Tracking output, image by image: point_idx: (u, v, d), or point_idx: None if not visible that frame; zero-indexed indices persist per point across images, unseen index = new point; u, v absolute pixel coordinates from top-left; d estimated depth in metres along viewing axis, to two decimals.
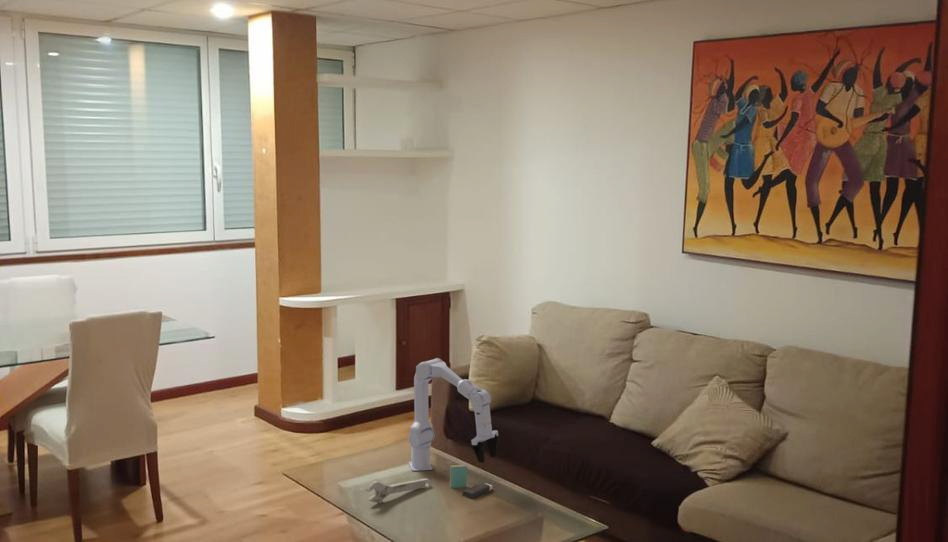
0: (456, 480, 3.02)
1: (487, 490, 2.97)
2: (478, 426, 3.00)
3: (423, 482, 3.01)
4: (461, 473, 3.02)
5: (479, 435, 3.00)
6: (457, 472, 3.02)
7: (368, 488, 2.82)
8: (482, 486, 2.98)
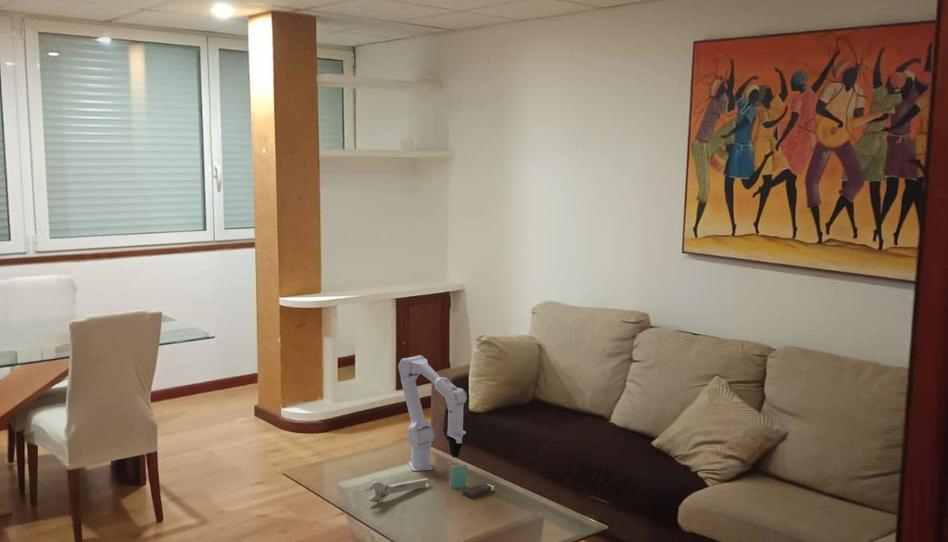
0: (456, 480, 3.02)
1: (488, 491, 2.97)
2: (456, 424, 3.04)
3: (423, 482, 3.01)
4: (461, 473, 3.02)
5: (455, 433, 3.05)
6: (457, 472, 3.02)
7: (368, 488, 2.82)
8: (483, 487, 2.98)
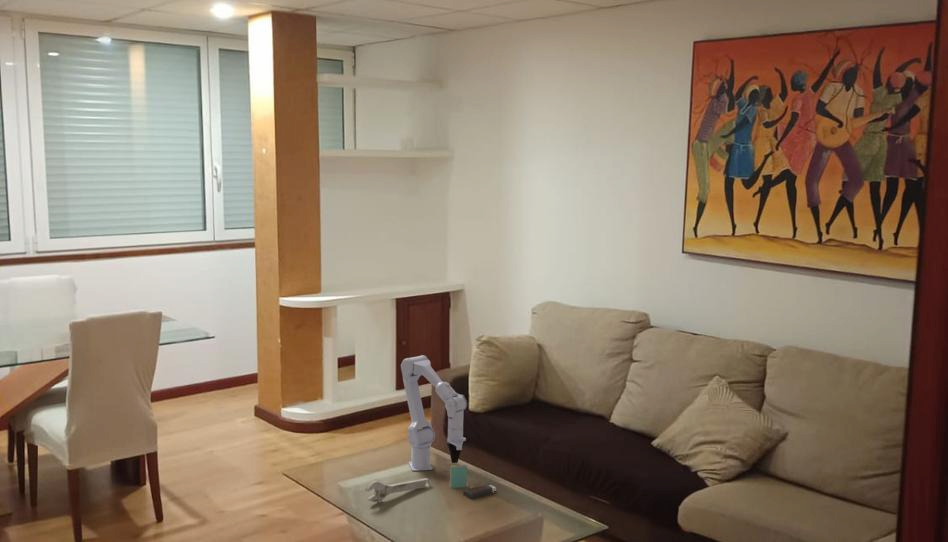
0: (456, 480, 3.02)
1: (489, 492, 2.96)
2: (456, 431, 3.04)
3: (423, 482, 3.01)
4: (461, 473, 3.02)
5: (455, 439, 3.05)
6: (457, 472, 3.02)
7: (367, 488, 2.82)
8: (484, 487, 2.97)
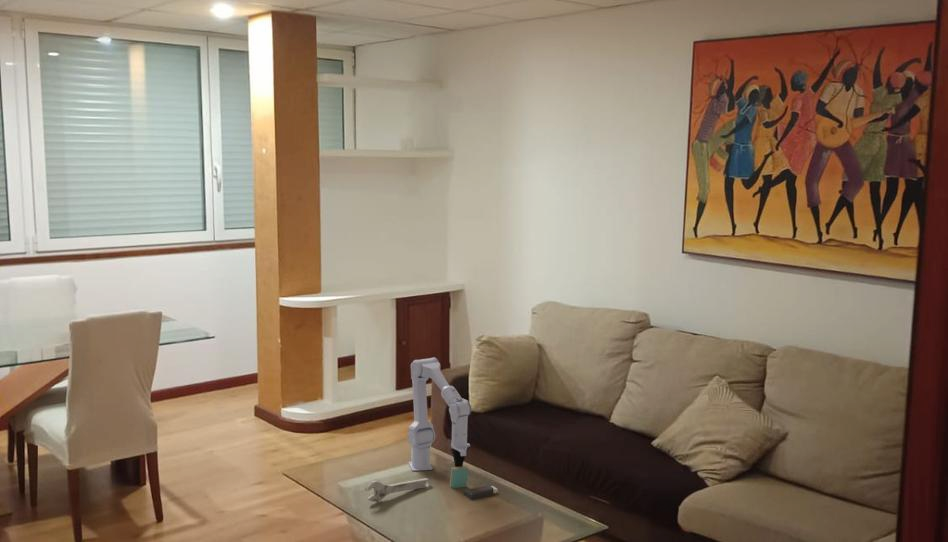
0: (456, 481, 3.01)
1: (489, 493, 2.95)
2: (460, 436, 2.98)
3: (423, 482, 3.01)
4: (462, 475, 3.01)
5: (459, 445, 2.98)
6: (458, 474, 3.00)
7: (367, 487, 2.82)
8: (485, 488, 2.97)
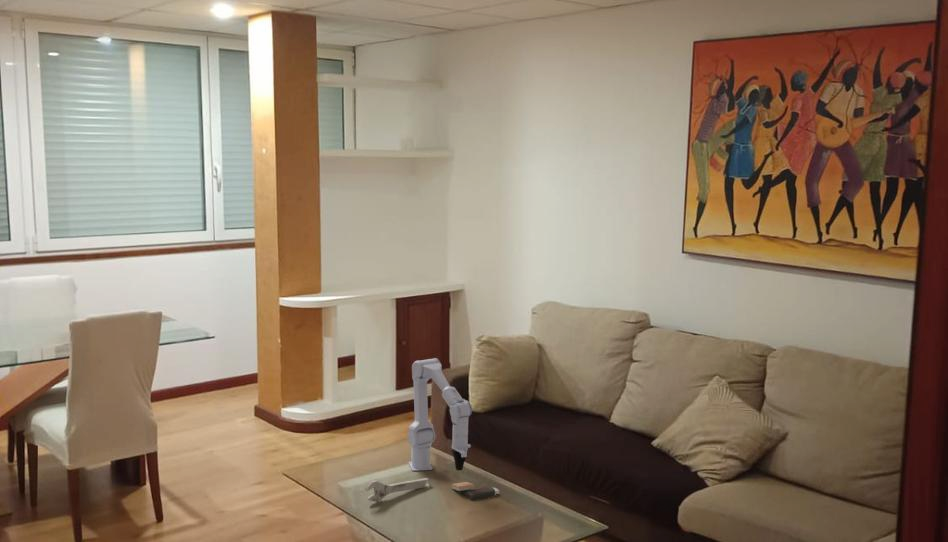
0: None
1: (491, 494, 2.94)
2: (460, 437, 2.97)
3: (423, 482, 3.01)
4: None
5: (460, 446, 2.97)
6: None
7: (367, 487, 2.82)
8: (486, 490, 2.96)
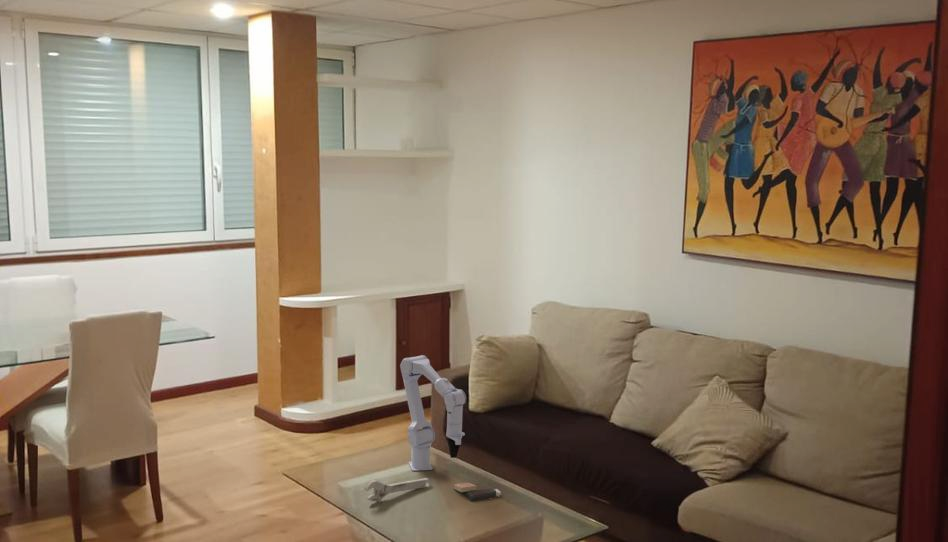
0: None
1: (491, 495, 2.93)
2: (455, 425, 3.03)
3: (423, 482, 3.01)
4: None
5: (454, 434, 3.04)
6: None
7: (366, 487, 2.83)
8: (488, 491, 2.94)
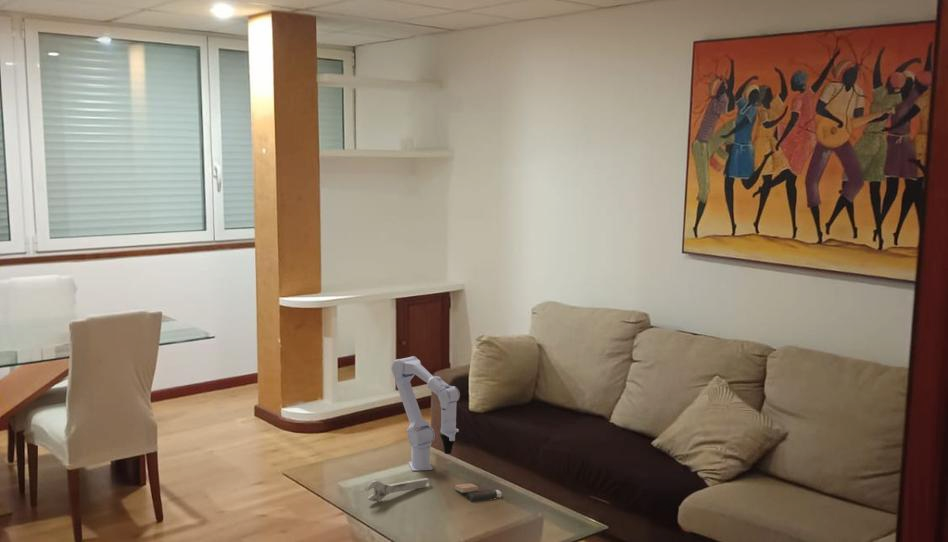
0: None
1: (492, 496, 2.92)
2: (449, 422, 3.07)
3: (423, 482, 3.01)
4: None
5: (448, 431, 3.07)
6: None
7: (367, 487, 2.83)
8: (488, 492, 2.94)
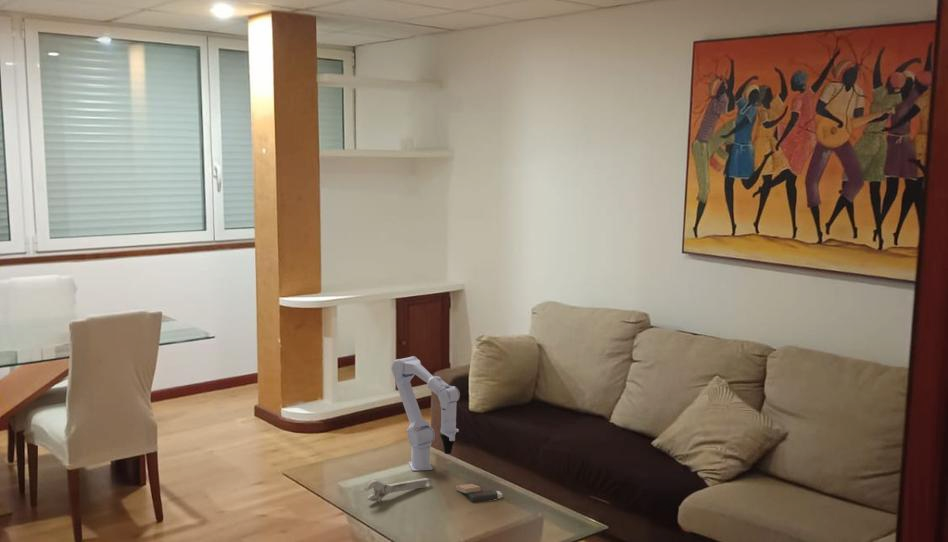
0: None
1: (492, 497, 2.91)
2: (449, 422, 3.07)
3: (423, 482, 3.01)
4: None
5: (448, 431, 3.07)
6: None
7: (366, 487, 2.83)
8: (489, 492, 2.93)
